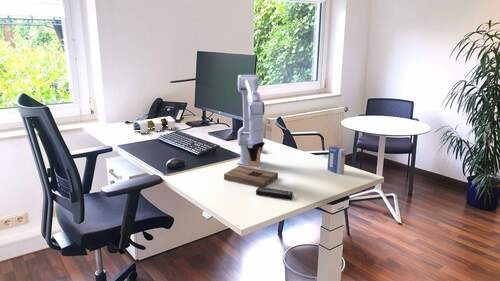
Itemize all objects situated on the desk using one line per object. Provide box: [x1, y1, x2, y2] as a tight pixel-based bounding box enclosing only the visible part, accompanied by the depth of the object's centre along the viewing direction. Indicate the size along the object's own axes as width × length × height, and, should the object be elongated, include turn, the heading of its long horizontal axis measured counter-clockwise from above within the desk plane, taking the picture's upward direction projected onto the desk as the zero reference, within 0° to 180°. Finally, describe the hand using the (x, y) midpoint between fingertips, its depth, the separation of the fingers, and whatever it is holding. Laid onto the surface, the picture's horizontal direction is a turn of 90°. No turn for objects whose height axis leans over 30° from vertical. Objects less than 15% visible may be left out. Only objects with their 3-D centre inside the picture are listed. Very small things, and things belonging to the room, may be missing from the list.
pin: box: [248, 147, 262, 168], centre depth 170 cm, size 4×4×8 cm
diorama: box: [132, 115, 176, 134], centre depth 255 cm, size 25×10×13 cm, turn 132°
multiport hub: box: [255, 187, 294, 201], centre depth 156 cm, size 4×14×2 cm, turn 70°
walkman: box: [326, 145, 347, 175], centre depth 182 cm, size 8×3×12 cm, turn 37°
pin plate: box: [223, 164, 279, 188], centre depth 173 cm, size 14×20×2 cm
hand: (255, 159), depth 170 cm, fingers closed on pin, 4 cm apart
